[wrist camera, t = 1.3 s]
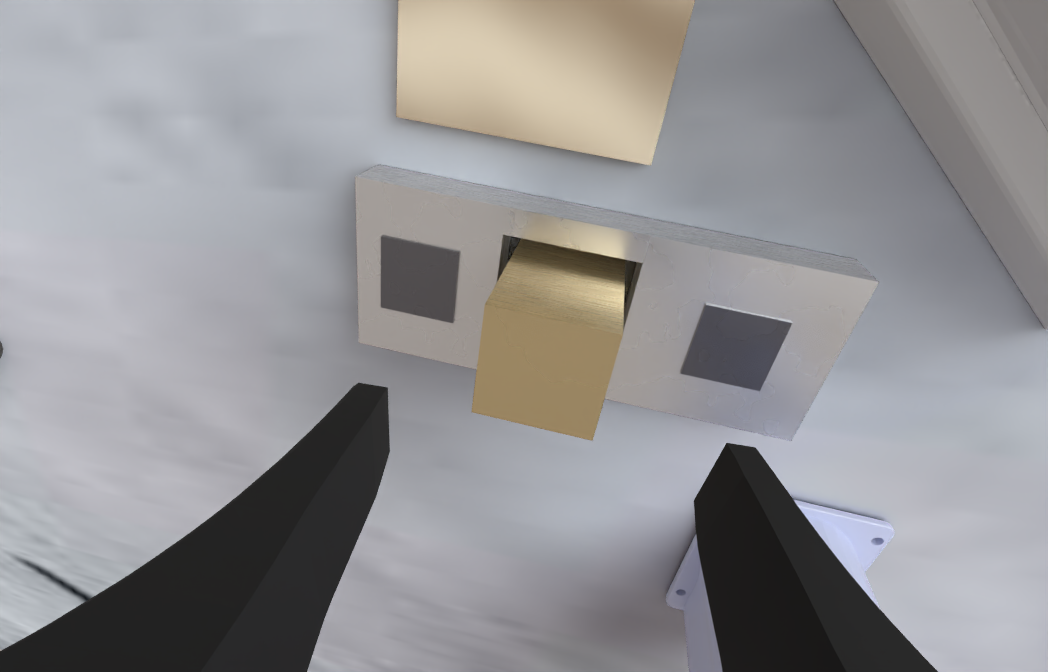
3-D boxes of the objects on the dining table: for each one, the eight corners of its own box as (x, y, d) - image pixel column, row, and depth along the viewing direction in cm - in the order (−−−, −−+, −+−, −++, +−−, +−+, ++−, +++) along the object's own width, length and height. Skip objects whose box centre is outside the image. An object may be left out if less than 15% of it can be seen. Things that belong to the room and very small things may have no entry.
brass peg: (602, 339, 22) (592, 440, 17) (511, 319, 23) (471, 412, 17) (625, 252, 20) (622, 334, 15) (525, 231, 20) (484, 304, 15)
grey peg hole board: (779, 409, 22) (791, 442, 21) (378, 320, 24) (357, 344, 22) (856, 259, 19) (880, 283, 17) (378, 164, 20) (353, 176, 18)
